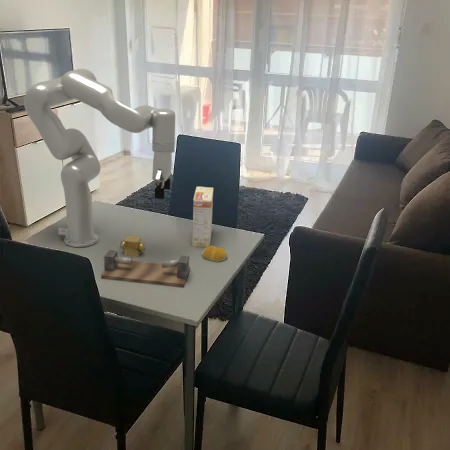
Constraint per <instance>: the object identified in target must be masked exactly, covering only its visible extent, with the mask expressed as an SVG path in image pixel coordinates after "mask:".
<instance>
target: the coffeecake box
mask: <svg viewBox="0 0 450 450" xmlns="http://www.w3.org/2000/svg"><path fill="white" fill-rule="evenodd" d="M213 202H214V187H211V186H210V187H206V186H196V188H195V190H194V195H193V204H192V205H193V206H192V210H193V212H192V213H193V214H192V242H191V243H192V244H191V246H192V247H194V248H206V247H208V246H211V239H212V228H213V227H212V226H213V223H212V222H213V206H214V205H213V204H214V203H213Z"/></svg>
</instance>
